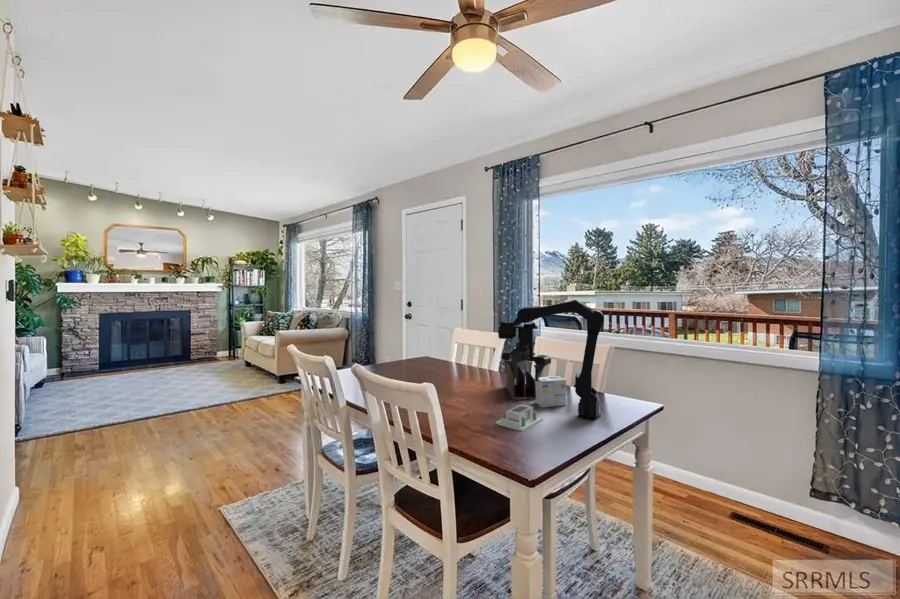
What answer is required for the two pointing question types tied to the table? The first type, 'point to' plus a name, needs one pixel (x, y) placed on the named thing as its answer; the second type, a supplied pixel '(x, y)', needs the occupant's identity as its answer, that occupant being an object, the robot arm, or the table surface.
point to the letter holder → (520, 385)
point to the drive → (520, 413)
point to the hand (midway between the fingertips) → (525, 379)
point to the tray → (517, 425)
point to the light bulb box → (551, 391)
